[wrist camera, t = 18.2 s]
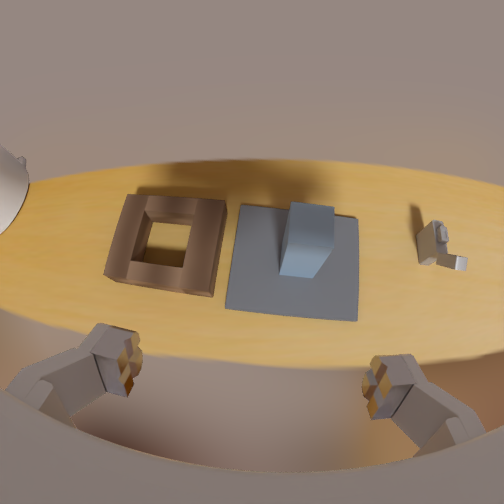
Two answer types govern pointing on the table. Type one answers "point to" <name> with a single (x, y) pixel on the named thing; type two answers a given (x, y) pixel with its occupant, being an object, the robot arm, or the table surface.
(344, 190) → the table surface
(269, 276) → the rubber mat
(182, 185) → the table surface
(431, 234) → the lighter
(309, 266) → the peg
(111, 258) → the pocket holder
